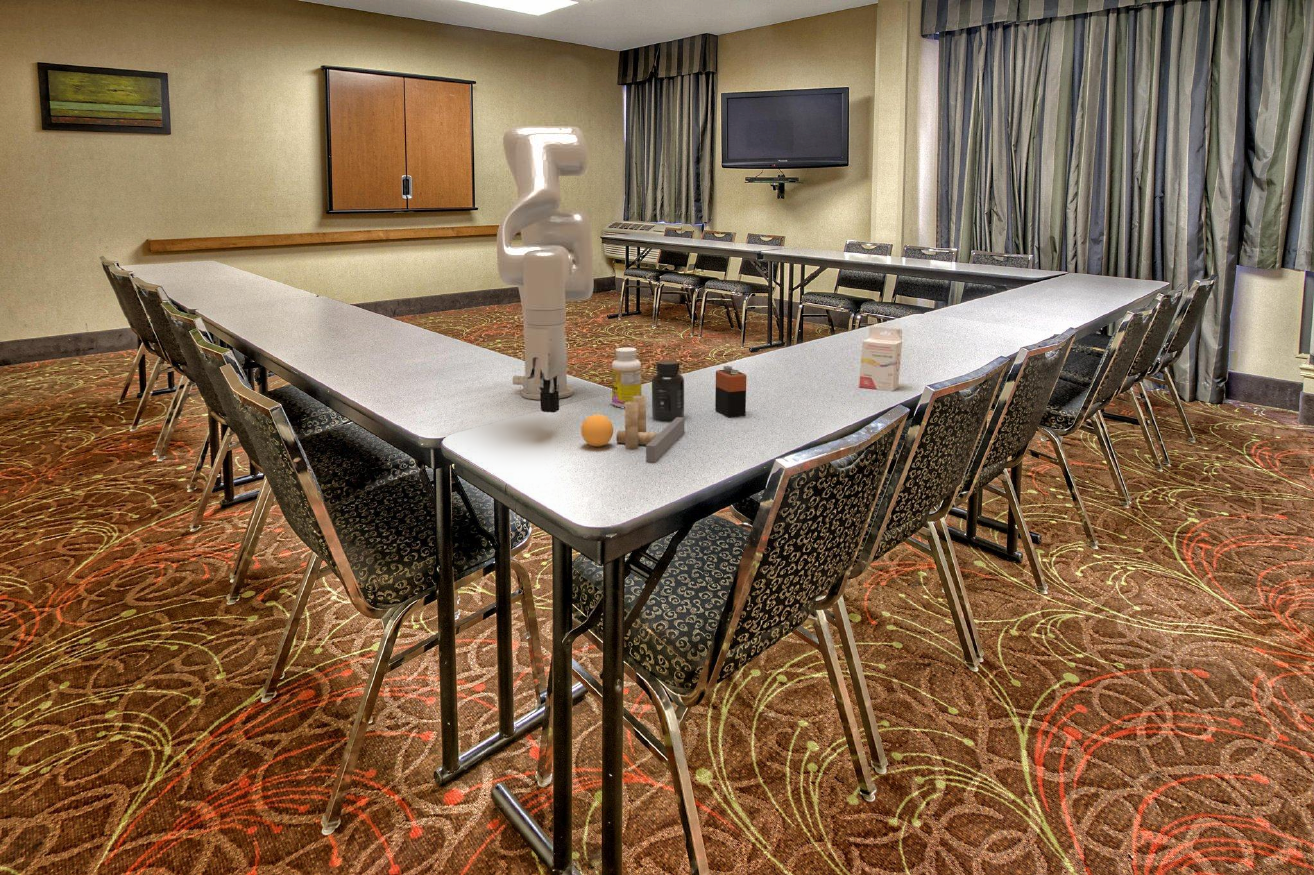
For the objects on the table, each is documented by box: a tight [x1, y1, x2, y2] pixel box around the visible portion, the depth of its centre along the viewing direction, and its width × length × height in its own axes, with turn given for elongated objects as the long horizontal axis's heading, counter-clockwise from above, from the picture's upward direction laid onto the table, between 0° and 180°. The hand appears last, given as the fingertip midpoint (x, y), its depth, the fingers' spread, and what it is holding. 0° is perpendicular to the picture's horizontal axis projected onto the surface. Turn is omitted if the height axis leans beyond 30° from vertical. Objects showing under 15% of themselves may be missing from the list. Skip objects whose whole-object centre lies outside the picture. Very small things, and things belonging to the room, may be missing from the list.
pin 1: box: [624, 402, 639, 450], centre depth 145 cm, size 2×2×8 cm
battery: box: [714, 365, 747, 418], centre depth 168 cm, size 4×7×10 cm, turn 21°
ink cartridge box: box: [858, 325, 903, 392], centre depth 190 cm, size 9×5×15 cm, turn 58°
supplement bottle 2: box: [651, 359, 685, 422], centre depth 165 cm, size 7×7×12 cm
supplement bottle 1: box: [611, 347, 643, 408], centre depth 176 cm, size 7×7×13 cm
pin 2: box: [633, 395, 647, 433], centre depth 150 cm, size 2×2×8 cm
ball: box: [580, 414, 614, 447], centre depth 146 cm, size 6×6×6 cm
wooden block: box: [615, 430, 660, 446], centre depth 148 cm, size 2×2×8 cm
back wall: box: [645, 417, 685, 463], centre depth 146 cm, size 2×20×3 cm, turn 163°
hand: (550, 410), depth 153 cm, fingers closed
